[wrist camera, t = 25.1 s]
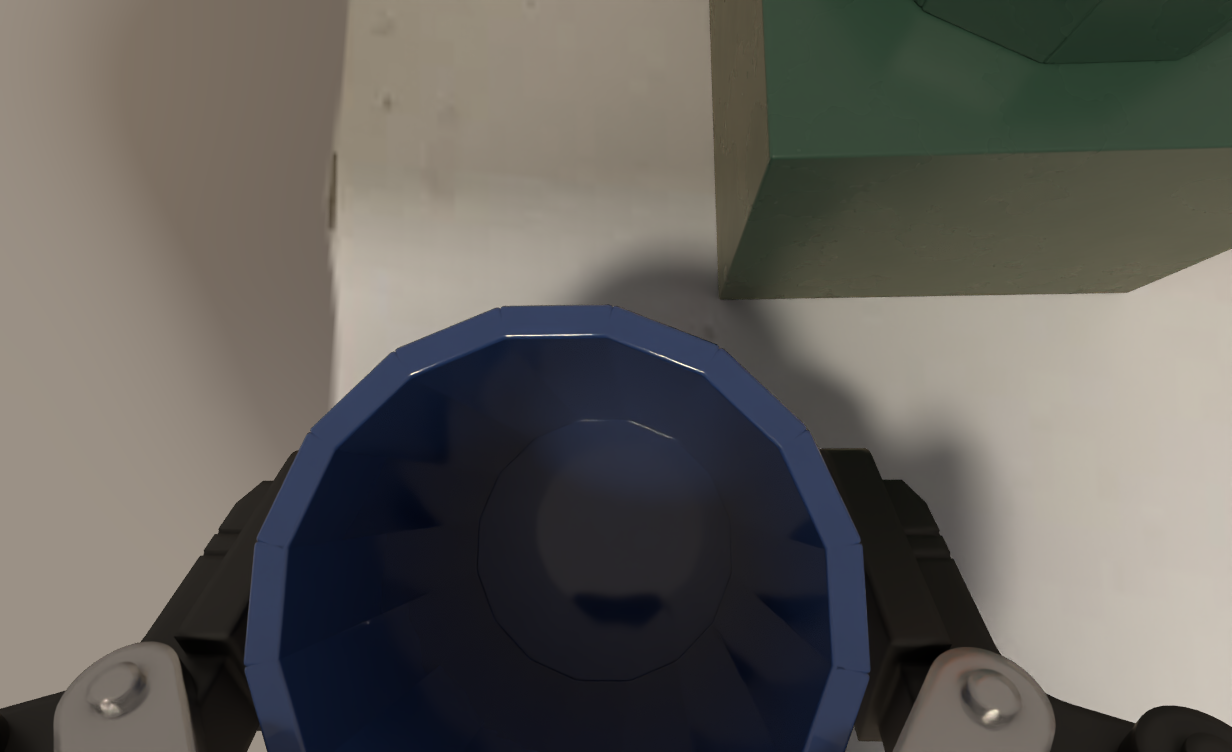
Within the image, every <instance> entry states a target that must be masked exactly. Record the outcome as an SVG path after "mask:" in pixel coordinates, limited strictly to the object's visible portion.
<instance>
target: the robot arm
mask: <svg viewBox="0 0 1232 752" xmlns="http://www.w3.org/2000/svg"><path fill="white" fill-rule="evenodd" d="M298 451H299V450H298ZM298 451H295V452H293V453H292V454H291V455H290V457H289V458H288V459H287V461H286V462H285V464H284V466H283V467H282V468H281V470H280V472H279V473H278V475H277V476H276V478H275V479H274V481H262V482H261V483H260V484H259V485H258V486H256V487H255V488H254V489H253V490H252V491H250V492H249V493H248V494H247V495H245V496H244V497H243V498H242V499H241V500H239V501H238V502H237V503H236V504H235V506H234V507H233V508H232V510H231V511H230V513H229V514H228V516H227V517H226V519H225V520H224V522H223V523H222V524H221V526H220V528H219V533H218V534H215V535H214V536H213V538H212V539H211V541H210V542H209V543H208V545H207V547H206V548H205V550H204V555H203V556H200V557H199V558H198V560H197V561H196V563H195V564H194V566H193V567H192V568H191V570H190V571H189V573H188V574H187V576H186V577H185V579H184V580H183V582H182V583H181V584H180V586H179V587H178V589H177V590H176V592H175V593H174V595H173V596H172V598H171V599H170V601H169V602H168V603H167V605H166V606H165V608H164V609H163V611H162V612H161V614H160V615H159V617H158V618H157V620H156V621H155V622H154V624H153V625H152V627H151V628H150V630H149V631H148V633H147V634H146V636H145V637H144V638H143V640H142V641H141V642H140V643H135V644H132V645H128V646H125V647H122V648H120V649H117V650H115V651H113V652H111V653H110V654H107V655H106V656H104V657H103V658H101V659H99V660H98V661H96V662H95V663H93V664H92V665H91V666H89V667H88V668H87V669H86V670H84V671H83V672H82V673H81V674H80V675H79V676H78V677H77V678H76V679H75V680H74V681H73V682H72V683H71V685H70V686H69V687H68V688H67V690H66V691H63V692H60V693H56V694H52V695H48V696H45V697H41V698H38V699H34V700H31V701H27V702H23V703H20V704H16V705H12V706H9V707H6V708H2V709H0V752H247V750H248V748H249V746H250V744H251V742H252V740H253V738H254V736H255V733H256V731H261V728H260V724H259V721H258V717H257V714H256V710H255V707H254V703H253V700H252V696H251V693H250V689H249V686H248V682H247V679H246V675H245V672H244V670H245V667H246V666H245V665H244V653H245V642H246V631H247V620H248V610H249V599H250V588H251V577H252V566H253V556H254V545H255V543H256V542H257V540H256V539H257V535H258V533H259V531H260V529H261V527H262V525H263V523H264V521H265V519H266V517H267V515H268V513H269V511H270V509H271V507H272V505H273V503H274V500H275V498H276V496H277V494H278V492H279V490H280V488H281V486H282V484H283V482H284V480H285V478H286V476H287V474H288V472H289V470H290V468H291V465H292V463H293V461H294V459H295V457H296V455H297V453H298ZM819 451H820V453H821V455H822V457H823V459H824V462H825V464H826V466H827V468H828V470H829V472H830V474H831V476H832V478H833V481H834V483H835V485H836V487H837V489H838V491H839V493H840V495H841V497H842V500H843V502H844V504H845V506H846V508H847V510H848V512H849V514H850V517H851V519H852V521H853V523H854V525H855V527H856V529H857V531H858V533H859V536H860V538H861V542H860V543H861V544H862V546H863V556H864V572H865V587H866V603H867V619H868V634H869V650H870V666H871V670H870V673H868V674H869V682H868V685H867V688H866V691H865V694H864V697H863V700H862V703H861V706H860V709H859V712H858V715H857V718H856V721H855V724H854V727H855V730H856V734H857V738H858V741H882V742H883V746H884V749H885V752H1232V727H1231V726H1229V725H1228V724H1226V723H1224V722H1223V721H1221V720H1219V719H1217V718H1215V717H1213V716H1211V715H1208V714H1205V713H1203V712H1200V711H1198V710H1194V709H1190V708H1186V707H1180V706H1160V707H1156V708H1153V709H1151V710H1149V711H1147V712H1146V713H1145V714H1144V715H1142V716H1141V718H1140V719H1139V720H1138V721H1137V723H1132V722H1129V721H1126V720H1122V719H1119V718H1116V717H1112V716H1109V715H1106V714H1102V713H1099V712H1096V711H1092V710H1089V709H1086V708H1082V707H1079V706H1076V705H1072V704H1069V703H1067V702H1064V701H1061V700H1058V699H1056V698H1054V697H1052V696H1050V695H1048V694H1046V693H1045V692H1044V691H1043V689H1042V688H1041V687H1040V685H1039V684H1038V683H1037V682H1036V681H1035V680H1034V678H1032V677H1031V676H1030V675H1029V674H1028V673H1027V672H1026V671H1025V670H1024V669H1022V668H1021V667H1020V666H1018V665H1017V664H1016V663H1014V662H1012V661H1011V660H1009V659H1007V658H1005V657H1003V656H1002V655H1001V654H1000V653H999V651H998V649H997V647H996V646H995V644H994V642H993V640H992V638H991V636H990V634H989V632H988V630H987V628H986V625H985V623H984V621H983V619H982V617H981V615H980V613H979V611H978V609H977V607H976V605H975V603H974V601H973V599H972V597H971V594H970V592H969V590H968V588H967V586H966V584H965V582H964V580H963V578H962V576H961V574H960V572H959V570H958V568H957V565H956V563H955V561H954V559H951V557H950V551H949V549H948V547H947V545H946V543H945V541H944V539H943V536H940V534H939V528H938V526H937V524H936V522H935V520H934V518H933V516H932V514H931V512H930V510H929V508H928V505H927V503H926V502H925V501H924V500H923V499H922V498H920V497H919V496H918V495H917V494H916V493H915V492H914V491H913V490H912V489H911V488H910V487H909V486H908V485H907V484H906V483H905V482H904V481H903V480H882V478H881V476H880V473H879V471H878V469H877V466H876V464H875V462H874V459H873V457H872V455H871V453H870V451H869V450H868V449H866V448H826V449H820V450H819Z"/></svg>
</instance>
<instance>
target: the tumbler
mask: <svg viewBox="0 0 1232 752" xmlns="http://www.w3.org/2000/svg"><path fill="white" fill-rule="evenodd" d="M806 429H807V427H806V425H805V424H804V423H803V422H802V421H801V420H800V419H798V418H797V417H796V416H795V415H794V414H793V413H792V412H791V411H790V410H789V409H788V408H787V407H786V406H785V405H783V404H782V403H781V402H780V401H779V400H778V399H777V398H776V397H775V396H774V395H773V394H772V393H771V392H770V391H768V390H767V389H766V388H765V387H764V386H763V385H762V384H761V383H760V382H759V381H758V380H757V379H756V378H755V377H753V376H752V375H751V374H750V373H749V372H748V371H747V370H746V369H745V368H744V367H743V366H742V365H741V364H740V363H738V362H737V361H736V360H735V359H734V358H733V357H732V356H731V355H730V354H729V353H728V352H727V351H726V350H725V349H723V348H720V349H719V346H718V345H717V344H714V343H712V342H709V341H706V340H704V339H701V338H699V337H696V336H694V335H691V334H688V333H686V332H683V331H681V330H678V329H675V328H673V327H670V326H668V325H665V324H662V323H660V322H657V321H655V320H652V319H650V318H647V317H644V316H642V315H639V314H637V313H634V312H631V311H629V310H626V309H624V308H621V307H619V306H614V307H612V306H611V305H537V306H503V307H501V308H494V309H491V310H489V311H487V312H484V313H482V314H479V315H477V316H474V317H472V318H470V319H467V320H465V321H462V322H460V323H457V324H455V325H453V326H450V327H448V328H445V329H443V330H440V331H438V332H436V333H433V334H431V335H428V336H426V337H423V338H421V339H419V340H416V341H414V342H411V343H409V344H407V345H404V346H402V347H399V348H397V349H396V352H391V353H390V354H389V355H388V356H387V357H386V358H385V359H384V360H383V361H381V362H380V363H379V364H378V365H377V366H376V367H375V368H374V369H373V370H372V371H371V372H370V373H369V374H368V375H367V376H366V377H365V378H364V379H363V380H361V381H360V382H359V383H358V384H357V385H356V386H355V387H354V388H353V389H352V390H351V391H350V392H349V393H348V394H347V395H346V396H345V397H344V398H342V399H341V400H340V401H339V402H338V403H337V404H336V405H335V406H334V407H333V408H332V409H331V410H330V411H329V412H328V413H327V414H326V415H325V416H323V417H322V418H321V419H320V420H319V421H318V422H317V423H316V424H315V425H314V426H313V427H312V428H311V430H310V431H311V432H309V433H308V434H307V435H306V437H305V439H304V441H303V443H302V445H301V447H300V449H299V451H298V453H297V455H296V457H295V459H294V461H293V463H292V465H291V468H290V470H289V472H288V474H287V476H286V478H285V480H284V482H283V484H282V486H281V488H280V490H279V492H278V494H277V496H276V498H275V500H274V503H273V505H272V507H271V509H270V511H269V513H268V515H267V517H266V519H265V521H264V523H263V525H262V527H261V529H260V531H259V533H258V535H257V539H256V540H257V542H256V543H255V545H254V556H253V566H252V577H251V588H250V599H249V610H248V620H247V631H246V642H245V653H244V665H245V666H246V667H245V670H244V672H245V675H246V679H247V682H248V686H249V689H250V693H251V696H252V700H253V703H254V707H255V710H256V714H257V717H258V721H259V724H260V728H261V731H262V735H263V738H264V742H265V745H266V749H267V752H845V750H846V748H847V745H848V742H849V739H850V736H851V733H852V730H853V727H854V724H855V721H856V718H857V715H858V712H859V709H860V706H861V703H862V700H863V697H864V694H865V691H866V688H867V685H868V682H869V674H868V673H870V670H871V666H870V650H869V634H868V619H867V603H866V587H865V572H864V556H863V546H862V544H861V543H860V542H861V538H860V536H859V533H858V531H857V529H856V527H855V525H854V523H853V521H852V519H851V517H850V514H849V512H848V510H847V508H846V506H845V504H844V502H843V500H842V497H841V495H840V493H839V491H838V489H837V487H836V485H835V483H834V481H833V478H832V476H831V474H830V472H829V470H828V468H827V466H826V464H825V462H824V459H823V457H822V455H821V453H820V451H819V449H818V447H817V445H816V442H815V440H814V438H813V436H812V434H811V432H810V431H809V430H806Z"/></svg>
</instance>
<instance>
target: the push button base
mask: <svg viewBox="0 0 1232 752" xmlns="http://www.w3.org/2000/svg"><path fill="white" fill-rule="evenodd" d="M709 8H710V39H711V70H712V101H713V132H714V163H715V194H716V225H717V256H718V287H719V299H721V300H726V299H784V298H843V297H901V296H959V295H1017V294H1075V293H1128V292H1130V291H1133V290H1135V289H1137V288H1140V287H1142V286H1144V285H1147V284H1149V283H1152V282H1154V281H1156V280H1159V279H1161V278H1163V277H1166V276H1168V275H1170V274H1173V273H1175V272H1178V271H1180V270H1182V269H1185V268H1187V267H1189V266H1192V265H1194V264H1196V263H1199V262H1201V261H1204V260H1206V259H1208V258H1211V257H1213V256H1215V255H1218V254H1220V253H1223V252H1225V251H1227V250H1230V249H1232V0H709Z"/></svg>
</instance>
